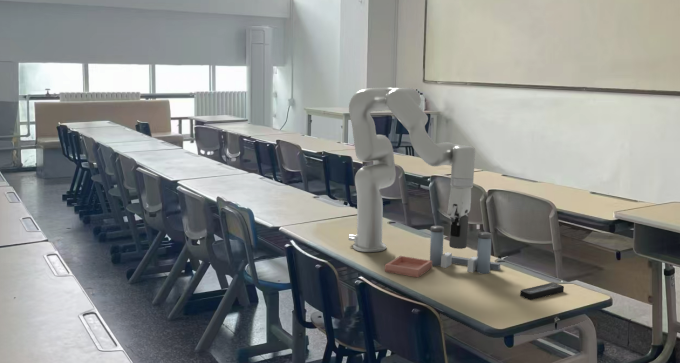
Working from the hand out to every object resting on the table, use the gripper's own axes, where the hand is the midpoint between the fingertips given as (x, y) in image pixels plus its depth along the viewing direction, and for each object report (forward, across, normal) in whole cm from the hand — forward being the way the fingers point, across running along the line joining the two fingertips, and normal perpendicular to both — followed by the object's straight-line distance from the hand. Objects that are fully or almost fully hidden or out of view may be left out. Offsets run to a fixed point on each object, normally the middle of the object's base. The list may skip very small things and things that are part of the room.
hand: (458, 233), depth 233 cm
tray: (+12, +11, -13) cm, 21 cm away
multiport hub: (+12, +12, +32) cm, 36 cm away
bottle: (+5, 0, 0) cm, 5 cm away
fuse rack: (+12, -2, +1) cm, 12 cm away
